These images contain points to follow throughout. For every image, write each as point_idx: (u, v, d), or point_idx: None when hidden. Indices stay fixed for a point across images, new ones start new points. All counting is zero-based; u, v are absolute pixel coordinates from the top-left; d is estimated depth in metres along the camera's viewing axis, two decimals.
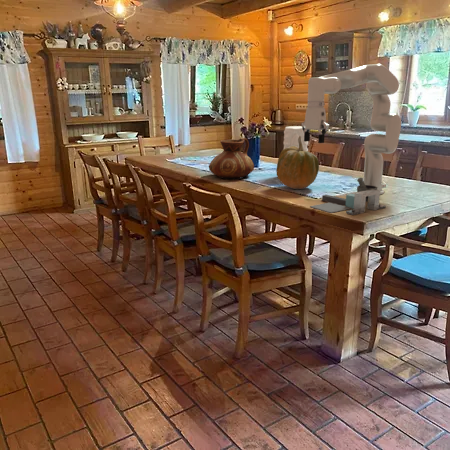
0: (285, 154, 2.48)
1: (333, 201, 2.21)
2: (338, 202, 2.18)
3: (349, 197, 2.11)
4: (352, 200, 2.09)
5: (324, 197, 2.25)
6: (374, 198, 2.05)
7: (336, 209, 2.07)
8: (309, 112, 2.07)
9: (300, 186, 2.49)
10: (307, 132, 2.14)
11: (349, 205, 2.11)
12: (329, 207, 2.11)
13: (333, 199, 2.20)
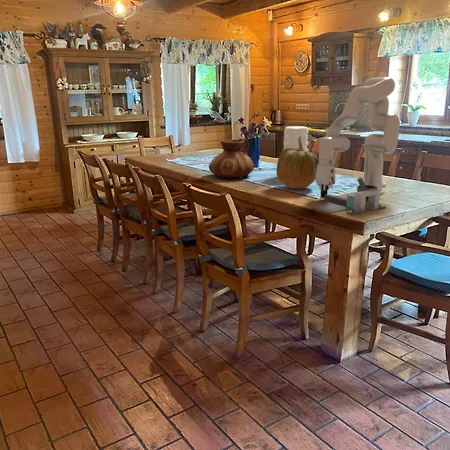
0: (285, 154, 2.48)
1: (334, 201, 2.20)
2: (339, 202, 2.17)
3: (350, 197, 2.10)
4: (353, 200, 2.09)
5: (326, 197, 2.24)
6: (374, 198, 2.05)
7: (336, 209, 2.07)
8: (319, 168, 2.23)
9: (300, 186, 2.49)
10: None
11: (350, 205, 2.11)
12: (329, 207, 2.11)
13: (335, 199, 2.19)
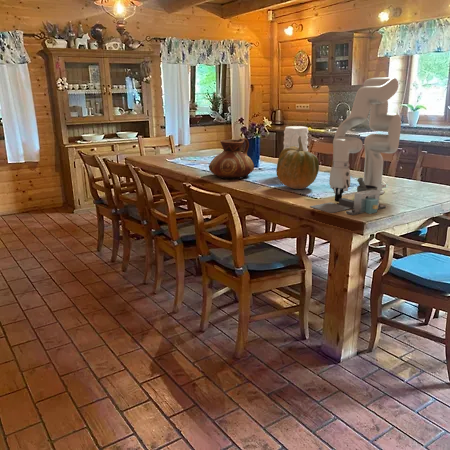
0: (285, 154, 2.48)
1: (349, 205, 2.12)
2: None
3: None
4: (368, 204, 2.01)
5: (341, 200, 2.16)
6: (374, 198, 2.05)
7: (336, 209, 2.07)
8: (334, 171, 2.16)
9: (300, 186, 2.49)
10: (338, 191, 2.19)
11: (365, 209, 2.03)
12: (329, 207, 2.11)
13: (349, 203, 2.11)
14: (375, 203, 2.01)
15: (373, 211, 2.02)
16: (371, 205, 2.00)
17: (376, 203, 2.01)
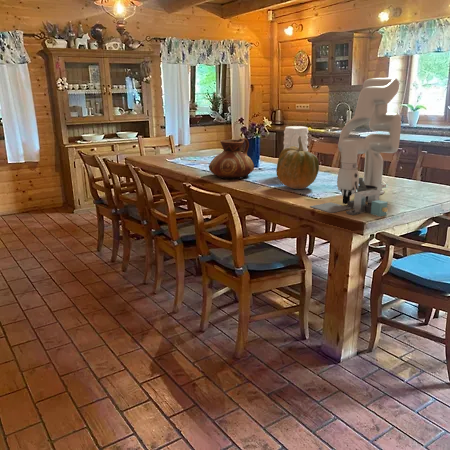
0: (285, 154, 2.48)
1: None
2: None
3: (375, 204, 1.97)
4: (378, 207, 1.96)
5: (349, 203, 2.12)
6: (374, 198, 2.05)
7: (336, 209, 2.07)
8: (342, 173, 2.11)
9: (300, 186, 2.49)
10: (346, 193, 2.15)
11: (375, 212, 1.98)
12: (329, 207, 2.11)
13: None
14: (385, 206, 1.97)
15: (383, 214, 1.97)
16: (381, 208, 1.96)
17: (386, 205, 1.97)
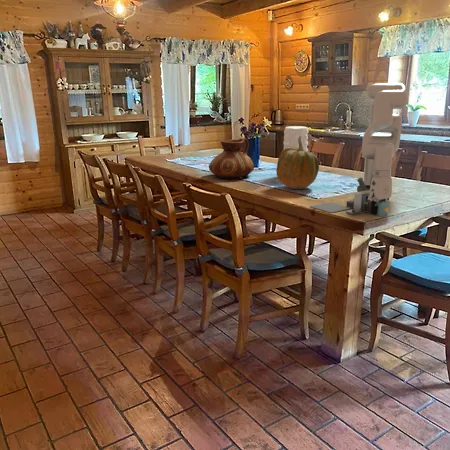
0: (285, 154, 2.48)
1: None
2: None
3: None
4: (379, 207, 1.96)
5: (349, 203, 2.12)
6: None
7: (336, 209, 2.07)
8: None
9: (300, 186, 2.49)
10: None
11: None
12: (329, 207, 2.11)
13: None
14: (385, 205, 1.97)
15: (383, 213, 1.98)
16: (381, 207, 1.96)
17: (386, 205, 1.97)
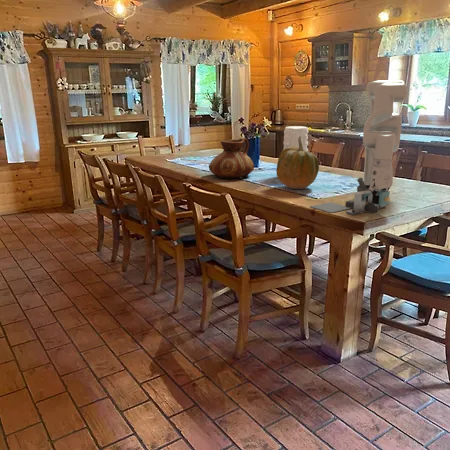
0: (285, 154, 2.48)
1: None
2: None
3: None
4: (380, 196, 1.96)
5: (348, 203, 2.12)
6: None
7: (336, 209, 2.07)
8: None
9: (300, 186, 2.49)
10: None
11: None
12: (329, 207, 2.11)
13: None
14: (387, 195, 1.97)
15: (385, 203, 1.97)
16: (383, 197, 1.95)
17: (388, 195, 1.97)
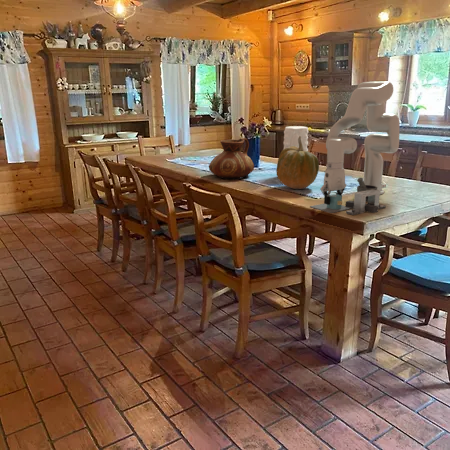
0: (285, 154, 2.48)
1: None
2: None
3: (330, 197, 2.08)
4: (333, 200, 2.07)
5: (348, 203, 2.12)
6: (374, 198, 2.05)
7: (336, 209, 2.07)
8: None
9: (300, 186, 2.49)
10: (338, 192, 2.11)
11: (330, 206, 2.09)
12: None
13: None
14: (339, 199, 2.08)
15: (338, 207, 2.08)
16: (336, 201, 2.07)
17: (340, 199, 2.08)
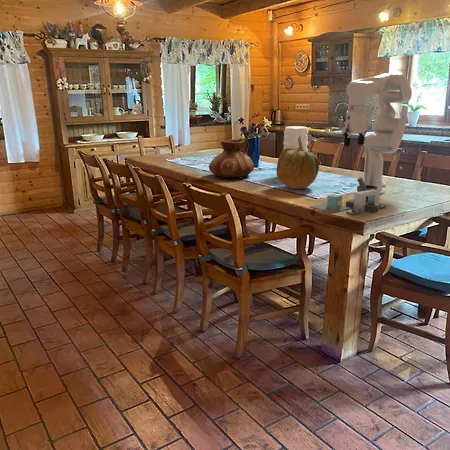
0: (285, 154, 2.48)
1: None
2: None
3: (330, 197, 2.08)
4: (333, 200, 2.07)
5: (348, 203, 2.12)
6: (374, 198, 2.05)
7: (336, 209, 2.07)
8: None
9: (300, 186, 2.49)
10: (360, 135, 2.16)
11: (330, 206, 2.09)
12: None
13: None
14: (339, 199, 2.08)
15: (338, 207, 2.08)
16: (336, 201, 2.07)
17: (340, 199, 2.08)
